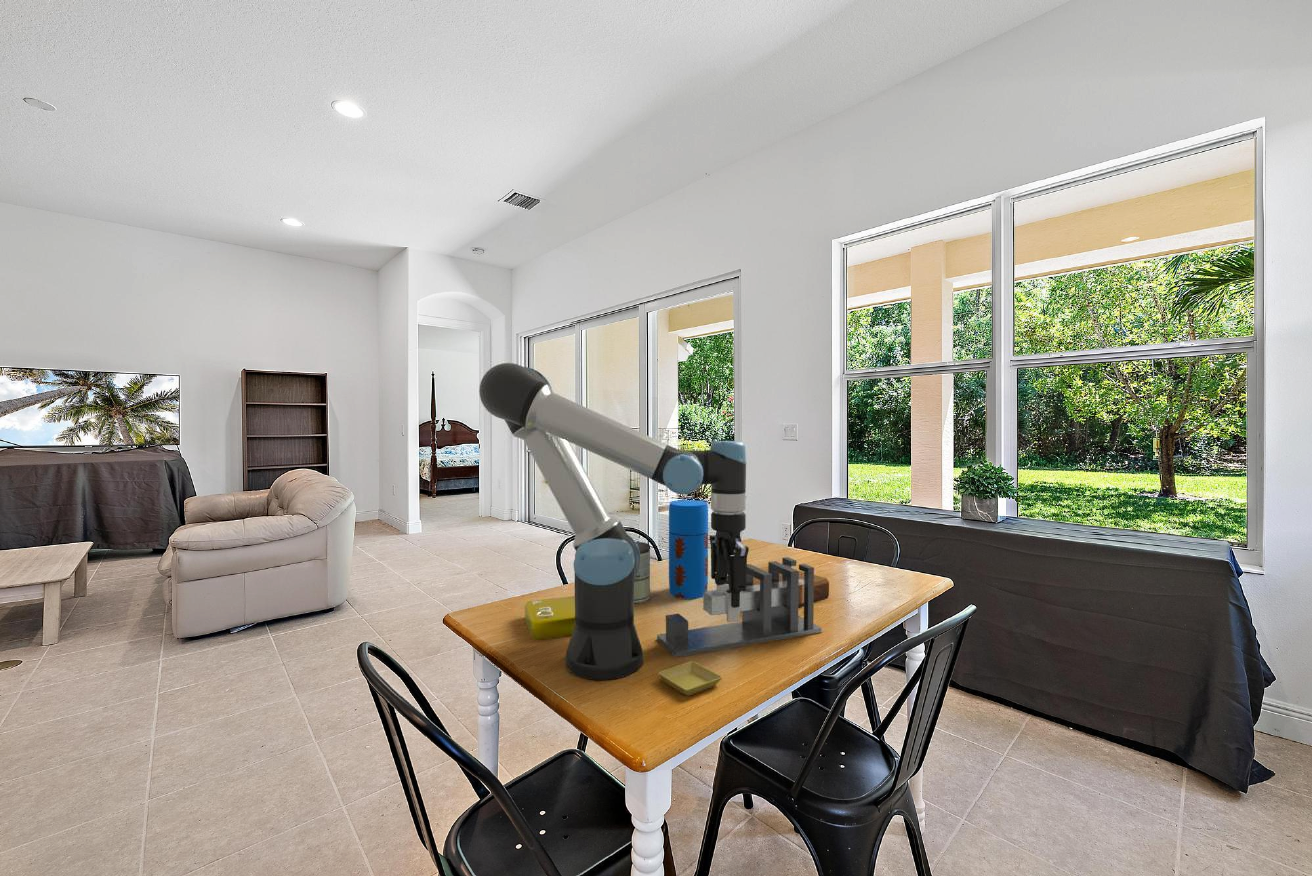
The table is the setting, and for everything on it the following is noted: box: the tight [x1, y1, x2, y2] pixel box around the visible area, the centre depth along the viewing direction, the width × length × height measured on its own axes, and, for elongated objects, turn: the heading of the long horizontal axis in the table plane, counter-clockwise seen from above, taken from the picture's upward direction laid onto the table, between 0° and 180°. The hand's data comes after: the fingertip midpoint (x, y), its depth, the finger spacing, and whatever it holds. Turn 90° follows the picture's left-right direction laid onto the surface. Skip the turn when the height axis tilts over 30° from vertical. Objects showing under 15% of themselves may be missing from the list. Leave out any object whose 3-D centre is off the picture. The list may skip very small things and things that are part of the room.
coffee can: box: [634, 541, 651, 604], centre depth 149 cm, size 10×10×14 cm
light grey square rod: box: [702, 579, 804, 616], centre depth 125 cm, size 26×4×4 cm, turn 112°
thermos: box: [668, 499, 709, 600], centre depth 153 cm, size 11×11×25 cm
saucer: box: [657, 660, 723, 697], centre depth 101 cm, size 9×9×2 cm
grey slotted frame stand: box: [656, 556, 823, 658], centre depth 123 cm, size 36×10×15 cm, turn 112°
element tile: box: [524, 595, 575, 640], centre depth 130 cm, size 15×15×5 cm
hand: (727, 616), depth 122 cm, fingers closed on light grey square rod, 4 cm apart
